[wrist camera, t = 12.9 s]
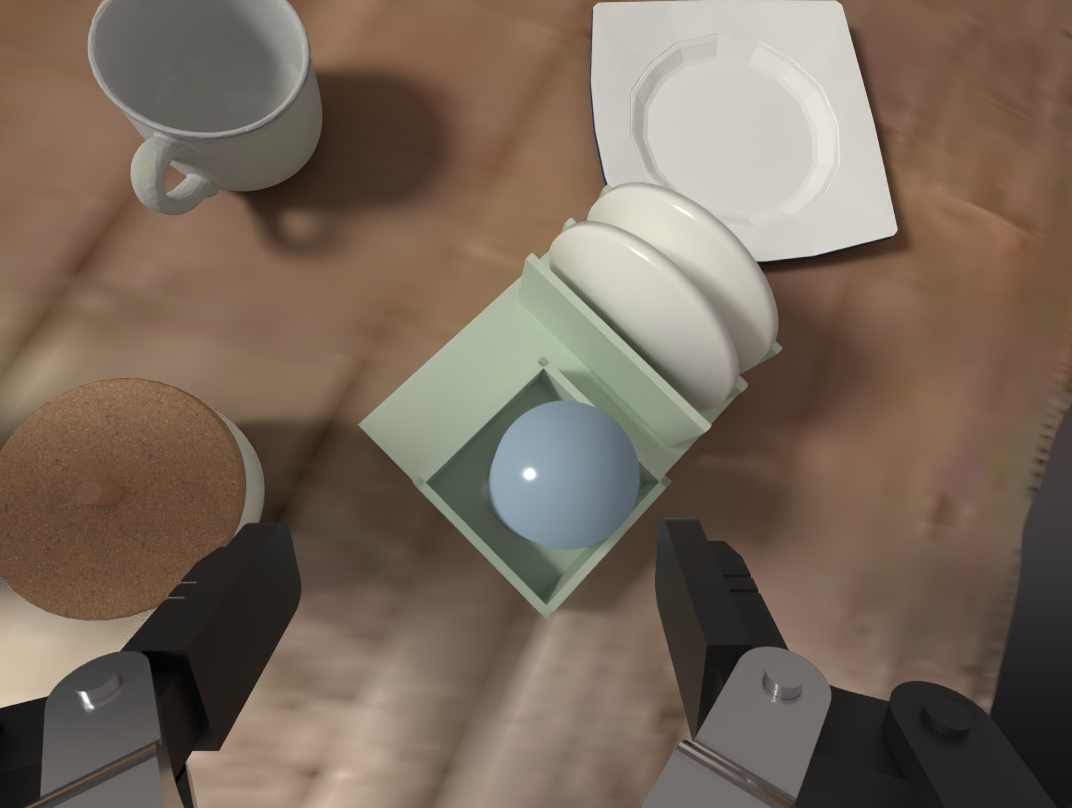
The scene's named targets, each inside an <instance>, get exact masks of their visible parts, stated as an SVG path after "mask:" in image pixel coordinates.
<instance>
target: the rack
mask: <svg viewBox="0 0 1072 808" xmlns="http://www.w3.org/2000/svg"><path fill="white" fill-rule="evenodd" d="M611 189H612V187H611V186H610V185H609V184H607V185H606V186H605V187H604V188H603V189H602V191H601V194H600V196H599V199H600V198H601V197H602V196H603V195H604V194H605V193H606V192H608V191H609V190H611ZM599 199H598V200H599ZM575 223H576V222H575V221H574V220H573V219H572V218H570V219H569V220H568V221H567V222H565V224H564V227H563V231H562V232H564V231H565V230H566V229H567V228H568V227H570V226H571V225H573V224H575ZM549 252H550V250H549V251H548V252H547V253H546V254H545V255H544V256H543V257H542V258H541V259H538V258H537V257H536V256H535V255H534V254H533V253H531V254H530V255H529V256H528V257H527V258H526V259H525V264H524V269H523V275H522V276H521V277H520V278H519V279H518V280H516V281H515V282H514V283H513V284H512V285H511V286H510V287H509V288H508V289H507V290H505V291H504V292H503V293H502V294H501V295H500V296H499V297H498V298H497V299H496V300H494V301H493V302H492V303H491V304H490V305H489V306H488V307H487V308H486V309H485V310H483V311H482V312H481V313H480V314H479V315H478V316H477V317H476V318H475V319H474V320H473V321H471V322H470V323H469V324H468V325H467V326H466V327H465V328H464V329H463V330H462V331H460V332H459V333H458V334H457V335H456V336H455V337H454V338H453V339H452V340H451V341H449V342H448V343H447V344H446V345H445V346H444V347H443V348H442V349H441V350H440V351H438V352H437V353H436V354H435V355H434V356H433V357H432V358H431V359H430V360H429V361H427V362H426V363H425V364H424V365H423V366H422V367H421V368H420V369H419V370H418V371H417V372H415V373H414V374H413V375H412V376H411V377H410V378H409V379H408V380H407V381H406V382H404V383H403V384H402V385H401V386H400V387H399V388H398V389H397V390H396V391H395V392H393V393H392V394H391V395H390V396H389V397H388V398H387V399H386V400H385V401H384V402H382V403H381V404H380V405H379V406H378V407H377V408H376V409H375V410H374V411H373V412H371V413H370V414H369V415H368V416H367V417H366V418H365V419H364V420H363V421H362V422H361V423H359V424H358V425H359V426H360V427H361V428H362V429H363V430H364V431H365V432H366V433H367V434H368V435H369V437H370V438H371V439H372V440H373V441H374V442H375V443H376V444H377V445H378V446H379V447H380V448H381V449H382V450H383V451H384V452H385V453H386V454H387V455H388V456H389V457H390V458H391V459H392V460H393V461H394V462H395V463H396V464H397V465H398V466H399V467H400V468H401V469H402V470H403V471H404V472H405V473H406V474H407V475H408V476H409V477H410V478H411V479H412V480H413V482H412V483H413V484H414V485H415V486H416V487H417V488H418V489H419V490H420V491H421V492H422V493H423V494H424V495H425V496H426V497H427V498H428V499H429V500H430V501H431V502H432V503H433V504H434V505H435V506H436V507H437V508H438V509H439V510H440V511H441V513H442V514H443V515H444V516H445V517H446V518H447V519H448V520H449V521H450V522H451V523H452V524H453V525H454V526H455V527H456V528H457V529H458V530H459V531H460V532H461V533H462V534H463V535H464V536H465V537H466V538H467V539H468V540H469V541H470V542H471V543H472V544H473V545H474V546H475V547H476V548H477V549H478V550H479V551H480V552H481V553H482V554H483V555H484V556H485V557H486V558H487V559H488V560H489V562H490V563H491V564H492V565H493V566H494V567H495V568H496V569H497V570H498V571H499V572H500V573H501V574H502V575H503V576H504V577H505V578H506V579H507V580H508V581H509V582H510V583H511V584H512V585H513V586H514V587H515V588H516V589H517V590H518V591H519V592H520V593H521V594H522V595H523V596H524V597H525V598H526V599H527V600H528V601H529V602H530V603H531V604H532V605H533V606H534V607H535V608H536V610H537V611H538V612H539V613H540V614H541V615H542V616H543V617H544V618H545V619H546V620H547V619H548V618H549V617H550V615H551V614H552V613H553V612H554V611H555V610H556V609H557V608H558V607H559V606H560V604H561V603H562V602H563V601H564V600H565V599H566V598H567V597H568V596H569V595H570V593H571V592H572V591H573V590H574V589H575V588H576V587H577V586H578V585H579V584H580V582H581V581H582V580H583V579H584V578H585V577H586V576H587V575H588V574H589V573H590V571H591V570H592V569H593V568H594V567H595V566H596V565H597V564H598V563H599V561H600V560H601V559H602V558H603V557H604V556H605V555H606V554H607V553H608V552H609V550H610V549H611V548H612V547H613V546H614V545H615V544H616V543H617V542H618V541H619V539H620V538H621V537H622V536H623V535H624V534H625V533H626V532H627V531H628V530H629V528H630V527H631V526H632V525H633V524H634V523H635V522H636V521H637V520H638V519H639V517H640V516H641V515H642V514H643V513H644V512H645V511H646V510H647V509H648V507H649V506H650V505H651V504H652V503H653V502H654V501H655V500H656V499H657V498H658V496H659V495H660V494H661V493H662V492H663V491H664V490H665V489H666V488H667V487H668V485H669V484H670V483H671V482H672V481H671V480H670V479H669V478H668V477H667V476H666V475H665V474H666V473H667V472H668V471H669V469H670V468H671V467H672V466H673V465H674V464H675V463H676V462H677V461H678V460H679V459H680V457H681V456H682V455H683V454H684V453H685V452H686V451H687V450H688V449H689V448H690V447H691V445H692V444H693V443H694V442H695V441H696V440H697V439H698V438H699V437H700V436H701V434H703V433H706V432H707V431H708V430H709V428H710V427H711V426H712V425H711V424H712V422H713V421H714V420H715V419H716V418H717V417H718V416H719V415H720V414H721V413H722V412H723V410H724V409H725V408H726V407H727V406H728V405H729V404H730V403H731V402H732V401H733V399H734V398H735V397H736V396H737V395H738V394H740V393H742V392H743V391H744V390H745V389H746V388H747V387H748V385H747V384H748V383H747V382H746V381H745V380H744V379H743V378H742V377H741V376H740V374H742V373H744V372H746V371H747V370H746V371H744V372H739V378H738V382H737V384H736V387H735V388H734V390H733V391H732V392H731V393H730V394H729V396H728V397H727V398H726V399H725V400H724V401H723V402H722V403H721V404H720V405H718V406H717V407H715V408H712V409H709V410H695V409H694V408H693V407H692V406H691V405H690V404H689V403H688V402H687V401H686V400H685V399H684V398H683V397H682V396H680V395H679V394H678V393H677V392H676V391H675V390H674V389H673V388H672V387H671V386H670V385H669V384H668V383H667V382H666V381H665V380H664V379H663V378H662V377H661V376H660V375H659V374H658V373H657V372H656V371H655V370H654V369H652V368H651V367H650V366H649V365H648V364H647V363H646V362H645V361H644V360H643V359H642V358H641V357H640V356H639V355H638V354H637V353H636V352H635V351H634V350H633V349H632V348H631V347H630V346H629V345H628V344H627V343H626V342H624V341H623V340H622V339H621V338H620V337H619V336H618V335H617V334H616V333H615V332H614V331H613V330H612V329H611V328H610V327H609V326H608V325H607V324H606V323H605V322H604V321H603V320H602V319H601V318H600V317H599V316H597V315H596V314H595V313H594V312H593V311H592V310H591V309H590V308H589V307H588V306H587V305H586V304H585V303H584V302H583V301H582V300H581V299H580V298H579V297H578V296H577V295H576V294H575V293H574V292H573V291H572V290H571V289H569V288H568V287H567V286H566V285H565V284H564V283H563V282H562V281H561V280H560V279H559V278H558V277H557V276H556V275H555V274H554V273H553V272H552V271H551V270H550V266H549ZM781 350H782V347H781V346H780V345H779V344H778V343H777V342H776V341H775V343H774V345H773V347H772V348H771V349H770V351H769V352H768V353H767V354H766V355H765V356H764V357H763V359H762V360H761V361H760V362H759V363H758V364H760V363H762V362H764V361H766V360H768V359H769V358H771V357H773V356H775V355H777V354H778V353H779V352H780V351H781ZM758 364H757V365H758ZM757 365H755V366H757ZM755 366H754V367H755ZM555 401H576V402H581V403H585V404H588V405H591V406H594V407H596V408H598V409H600V410H602V411H603V412H605V413H606V414H608V415H609V416H611V417H612V418H613V419H614V420H615V421H616V422H617V423H618V424H619V425H620V426H621V427H622V428H623V429H624V431H625V432H626V434H627V435H628V437H629V438H630V440H631V442H632V444H633V446H634V449H635V452H636V454H637V458H638V463H639V471H640V484H639V490H638V495H637V498H636V502H635V504H634V506H633V509H632V511H631V513H630V514H629V516H628V518H627V519H626V520H625V522H624V523H623V524H622V525H621V527H620V528H619V529H618V530H616V531H615V532H614V533H613V534H612V535H610V536H609V537H608V538H606V539H605V540H603V541H601V542H599V543H597V544H595V545H592V546H589V547H585V548H581V549H572V550H563V549H555V548H550V547H547V546H544V545H541V544H538V543H536V542H533V541H531V540H529V539H526V538H524V537H521V536H519V535H517V534H515V533H513V532H511V531H510V530H508V529H507V528H506V527H504V526H503V525H502V524H501V523H500V522H499V520H498V519H497V518H496V516H495V515H494V513H493V511H492V509H491V507H490V504H489V501H488V497H487V478H488V473H489V470H490V467H491V465H492V462H493V459H494V457H495V454H496V451H497V449H498V446H499V444H500V442H501V440H502V438H503V436H504V434H505V433H506V431H507V430H508V428H509V427H510V426H511V425H512V424H513V423H514V422H515V421H516V420H517V419H518V418H519V417H520V416H522V415H523V414H524V413H526V412H527V411H529V410H531V409H533V408H535V407H537V406H539V405H542V404H545V403H549V402H555Z"/></svg>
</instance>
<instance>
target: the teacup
mask: <svg viewBox="0 0 1072 808" xmlns="http://www.w3.org/2000/svg"><path fill="white" fill-rule="evenodd" d="M88 37H89V39H88V57H89V61H90V64H91V67H92V70H93V74H94V76H95V78H96V80H97V82H98V83H99V85H100V87H101V88H102V90H103V91H104V93H105V94H106V95H107V97H108V98H109V99H110V100H111V101H112V102H113V103H114V104H115V105H116V106H117V107H118V108H119V109H120V110H122V111H123V112H124V114H125V115H126V116H127V117H128V119H129V120H130V121H131V123H132V124H133V125H134V126H135V128H136V129H137V130H138V131H139V132H140V134H141V135H142V136H143V137H144V139H145V140H146V142H144V143H143V144H142V145H141V146H140V147H139V148H138V150H137V152H136V154H135V155H134V158H133V161H132V164H131V181H132V185H133V189H134V191H135V193H136V195H137V197H138V198H139V200H140V201H141V202H142V203H143V204H144V205H145V206H147V207H148V208H150V209H152V210H154V211H156V212H160V213H164V214H169V215H180V214H184V213H186V212H188V211H190V210H192V209H193V208H195V207H196V206H197V205H198V204H199V203H201V202H202V201H203V200H204V199H205V198H206V197H212V196H214V195H215V194H216V193H217V192H218V191H219V190H220V189H222V190H229V191H253V190H260V189H264V188H267V187H271V186H274V185H276V184H279V183H281V182H283V181H285V180H286V179H288V178H290V177H291V176H293V175H294V174H295V173H297V172H298V171H299V170H300V169H301V168H302V167H303V166H304V165H305V164H306V163H307V161H308V160H309V159H310V157H311V156H312V154H313V153H314V151H315V149H316V146H317V144H318V142H319V138H320V134H321V129H322V104H321V97H320V92H319V87H318V83H317V78H316V75H315V71H314V67H313V63H312V60H311V54H310V45H309V39H308V36H307V32H306V30H305V27H304V25H303V23H302V20H301V19H300V17H299V15H298V13H297V12H296V10H295V9H294V8H293V6H292V5H291V4H290V3H289V2H288V1H287V0H103V2H102V3H101V5H100V6H99V8H98V9H97V12H96V14H95V16H94V17H93V19H92V25H91V29H90V32H89V35H88ZM169 164H170V165H171V166H172V167H174V168H175V169H176V170H178V171H179V172H181V173H182V174H184V175H185V176H187V178H186V179H185V180H184V181H183V182H182V183H181V184H179V185H178V186H177V187H176V188H175V189H174V190H172V191H171V192H169V193H167V194H166V192H165V187H164V176H165V172H166V169H167V167H168V165H169Z"/></svg>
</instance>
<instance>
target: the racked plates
mask: <svg viewBox="0 0 1072 808" xmlns="http://www.w3.org/2000/svg"><path fill="white" fill-rule="evenodd" d="M549 266H550V270H551V271H552V272H553V273H554V274H555V275H556V276H557V277H558V278H559V279H560V280H561V281H562V282H563V283H564V284H565V285H566V286H567V287H568V288H569V289H571V290H572V291H573V292H574V293H575V294H576V295H577V296H578V297H579V298H580V299H581V300H582V301H583V302H584V303H585V304H586V305H587V306H588V307H589V308H590V309H591V310H592V311H593V312H594V313H595V314H596V315H597V316H599V317H600V318H601V319H602V320H603V321H604V322H605V323H606V324H607V325H608V326H609V327H610V328H611V329H612V330H613V331H614V332H615V333H616V334H617V335H618V336H619V337H620V338H621V339H622V340H623V341H624V342H626V343H627V344H628V345H629V346H630V347H631V348H632V349H633V350H634V351H635V352H636V353H637V354H638V355H639V356H640V357H641V358H642V359H643V360H644V361H645V362H646V363H647V364H648V365H649V366H650V367H651V368H652V369H654V370H655V371H656V372H657V373H658V374H659V375H660V376H661V377H662V378H663V379H664V380H665V381H666V382H667V383H668V384H669V385H670V386H671V387H672V388H673V389H674V390H675V391H676V392H677V393H678V394H679V395H680V396H682V397H683V398H684V399H685V400H686V401H687V402H688V403H689V404H690V405H691V406H692V407H693V408H694V409H695V410H709V409H712V408H715V407H717V406H718V405H720V404H721V403H722V402H723V401H724V400H725V399H726V398H727V397H728V396H729V394H730V393H731V392H732V391H733V390H734V388H735V387H736V384H737V382H738V378H739V372H744V371H746V370H749V369H751V368H753V367H754V366H755V365H757V364H758V363H759V362H760V361H761V360H762V359H763V357H764V356H765V355H766V354H767V353H768V352H769V351H770V349H771V348H772V347H773V345H774V343H775V341H776V337H777V333H778V312H777V306H776V303H775V299H774V296H773V293H772V290H771V288H770V286H769V283H768V281H767V279H766V277H765V275H764V274H763V272H762V270H761V268H760V266H759V265H758V263H757V262H756V260H755V259H754V258H753V256H752V255H751V253H750V252H749V251H748V249H747V248H746V247H745V246H744V245H743V243H742V242H741V241H740V240H739V239H738V237H737V236H736V235H735V234H734V233H733V232H732V231H731V230H730V229H729V228H728V227H727V226H726V225H725V224H723V223H722V222H721V221H720V220H719V219H718V218H716V217H715V216H714V215H713V214H712V213H710V212H709V211H707V210H706V209H705V208H703V207H702V206H700V205H699V204H698V203H696V202H694V201H692V200H691V199H689V198H687V197H686V196H684V195H682V194H680V193H677V192H675V191H673V190H671V189H668V188H665V187H662V186H659V185H655V184H650V183H644V182H630V183H624V184H620V185H618V186H615V187H613V188H612V189H611V190H609V191H608V192H606V193H605V194H604V195H603V196H602V197H601V198H600V199H599V200H598V201H597V202H596V203H595V204H594V205H593V206H592V208H591V210H590V212H589V214H588V218H587V221H581V222H578V223H575V224H573V225H571V226H570V227H568V228H567V229H566V230H565V231H564V232H562V233H561V234H560V235H559V236H558V237H557V238H556V239H555V240H554V242H553V243H552V245H551V248H550V252H549Z"/></svg>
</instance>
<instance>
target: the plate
mask: <svg viewBox="0 0 1072 808" xmlns="http://www.w3.org/2000/svg"><path fill="white" fill-rule="evenodd" d="M590 93H591V104H592V116H593V127H594V135H595V140H596V145H597V149H598V154H599V159H600V164H601V169H602V174H603V178H604V181H605V184H606V185H607V184H609V185H610V186H611V187H612V188H613V187H615V186H618V185H620V184H624V183H630V182H644V183H650V184H655V185H659V186H662V187H665V188H668V189H671V190H673V191H675V192H677V193H680V194H682V195H684V196H686V197H687V198H689V199H691V200H692V201H694V202H696V203H698V204H699V205H700V206H702V207H703V208H705V209H706V210H707V211H709V212H710V213H712V214H713V215H714V216H715V217H716V218H718V219H719V220H720V221H721V222H722V223H723V224H725V225H726V226H727V227H728V228H729V229H730V230H731V231H732V232H733V233H734V234H735V235H736V236H737V237H738V239H739V240H740V241H741V242H742V243H743V245H744V246H745V247H746V248H747V249H748V251H749V252H750V253H751V255H752V256H753V258H754V259H755V260H756V262H757V263H771V262H780V261H789V260H799V259H808V258H814V257H818V256H822V255H826V254H830V253H834V252H838V251H842V250H846V249H850V248H854V247H858V246H862V245H866V244H870V243H874V242H878V241H882V240H886V239H890V238H891V237H892V236H894V234H895V233H896V231H897V230H898V229H897V225H896V220H895V215H894V211H893V206H892V202H891V197H890V192H889V188H888V183H887V179H886V174H885V169H884V165H883V160H882V156H881V152H880V147H879V143H878V138H877V134H876V129H875V125H874V121H873V117H872V113H871V109H870V106H869V102H868V98H867V95H866V91H865V87H864V84H863V80H862V76H861V73H860V69H859V65H858V62H857V58H856V54H855V51H854V47H853V44H852V40H851V36H850V33H849V29H848V25H847V22H846V18H845V15H844V11H843V7H842V5H841V4H840V3H838V2H837V1H787V0H701V1H654V2H614V3H597V4H596V5H595V6H594V7H593V10H592V26H591V64H590Z"/></svg>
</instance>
